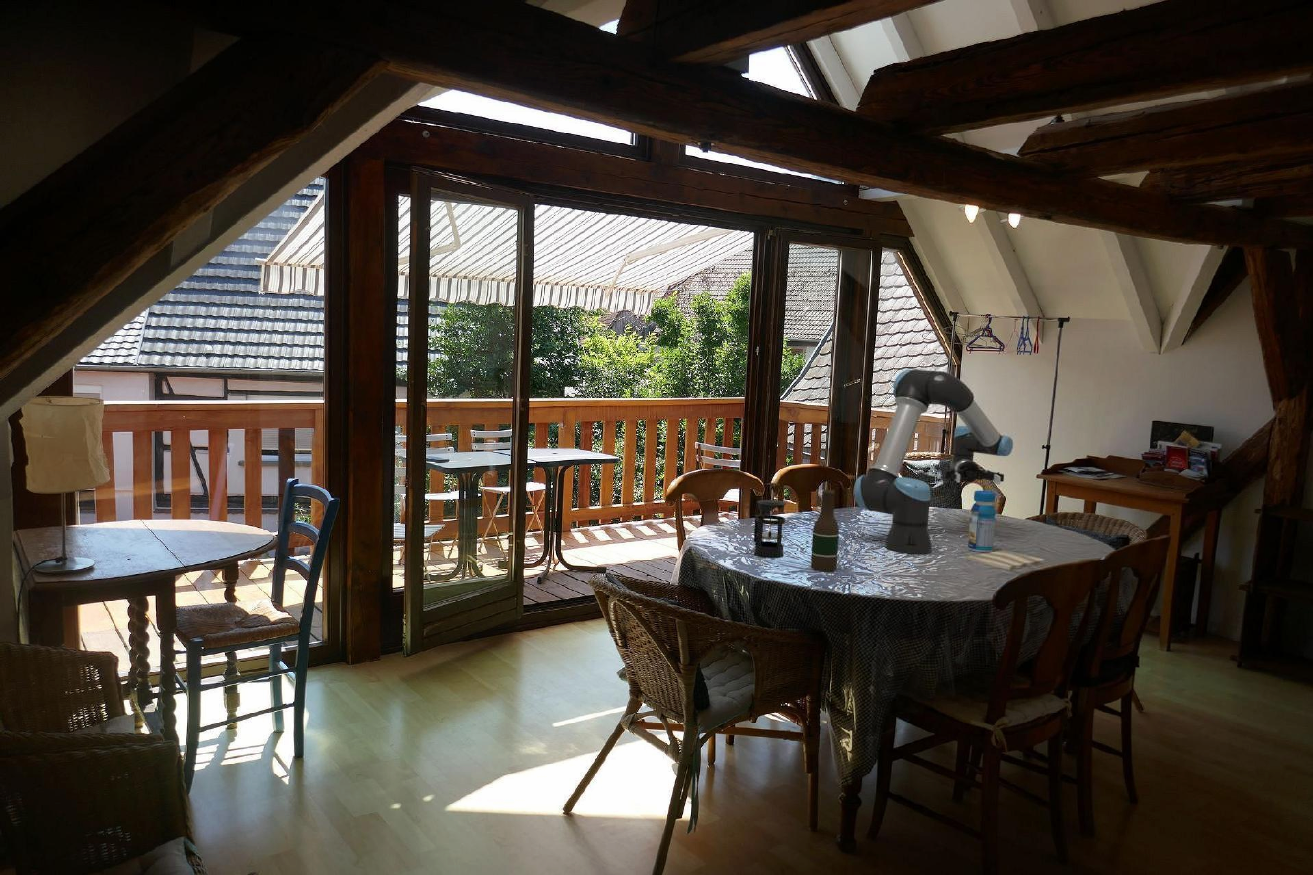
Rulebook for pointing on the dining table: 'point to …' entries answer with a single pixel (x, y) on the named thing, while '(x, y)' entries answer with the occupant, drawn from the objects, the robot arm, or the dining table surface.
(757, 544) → the black lantern
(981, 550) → the beverage bottle
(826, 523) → the beer bottle
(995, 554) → the birch board
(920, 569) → the dining table surface
